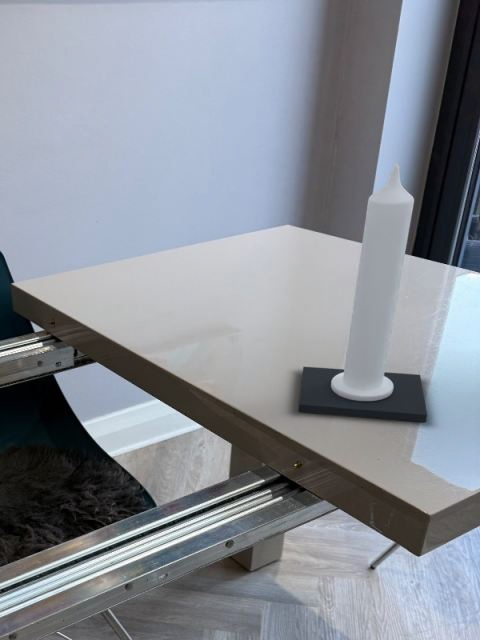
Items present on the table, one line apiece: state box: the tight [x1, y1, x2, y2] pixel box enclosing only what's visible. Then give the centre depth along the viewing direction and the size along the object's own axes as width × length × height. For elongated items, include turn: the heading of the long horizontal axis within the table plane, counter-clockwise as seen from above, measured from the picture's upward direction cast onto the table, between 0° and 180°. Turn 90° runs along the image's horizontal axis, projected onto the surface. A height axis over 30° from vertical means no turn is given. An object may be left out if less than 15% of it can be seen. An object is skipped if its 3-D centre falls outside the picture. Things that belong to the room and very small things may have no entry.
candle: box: [331, 163, 415, 401], centre depth 86 cm, size 7×7×25 cm
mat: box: [297, 366, 428, 423], centre depth 94 cm, size 14×11×1 cm
